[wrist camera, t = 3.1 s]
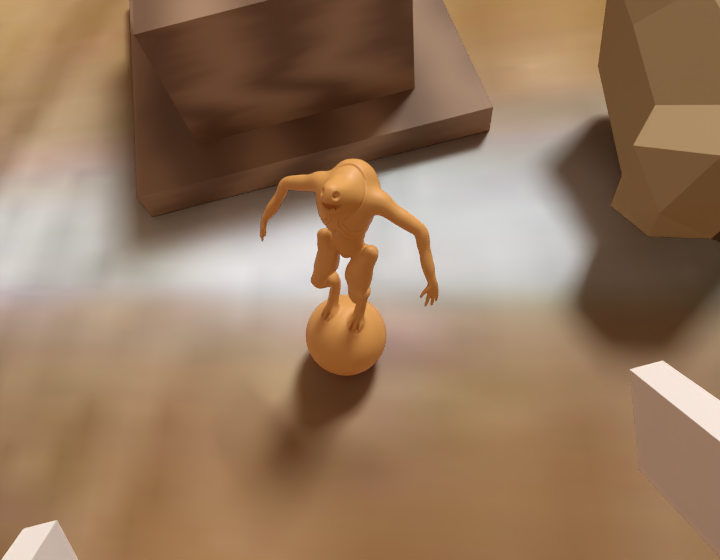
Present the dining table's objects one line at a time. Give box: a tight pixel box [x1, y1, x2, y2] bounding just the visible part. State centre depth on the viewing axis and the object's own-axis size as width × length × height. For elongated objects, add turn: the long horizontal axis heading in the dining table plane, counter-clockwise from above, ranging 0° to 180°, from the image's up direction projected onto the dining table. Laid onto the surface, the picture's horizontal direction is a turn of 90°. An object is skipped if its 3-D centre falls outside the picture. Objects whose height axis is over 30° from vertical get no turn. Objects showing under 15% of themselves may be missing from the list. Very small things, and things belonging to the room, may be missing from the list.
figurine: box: [260, 159, 438, 376], centre depth 23 cm, size 8×6×12 cm
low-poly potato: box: [598, 0, 720, 242], centre depth 26 cm, size 15×11×12 cm
